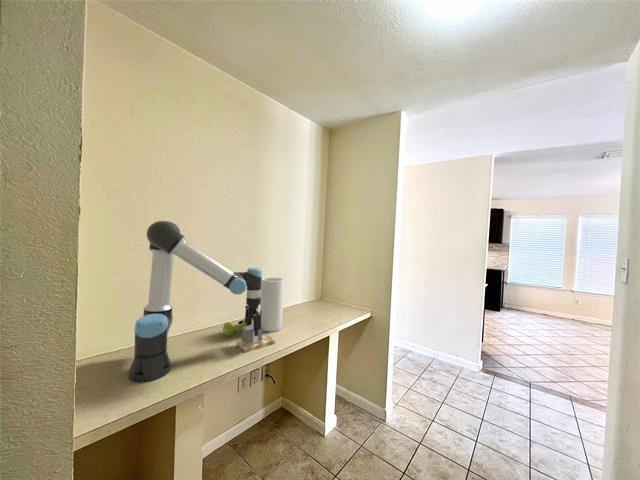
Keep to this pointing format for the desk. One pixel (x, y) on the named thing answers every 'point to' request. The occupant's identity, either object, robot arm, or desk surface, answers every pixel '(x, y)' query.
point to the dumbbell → (232, 328)
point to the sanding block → (250, 335)
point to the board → (257, 344)
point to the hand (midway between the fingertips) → (252, 339)
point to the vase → (271, 303)
